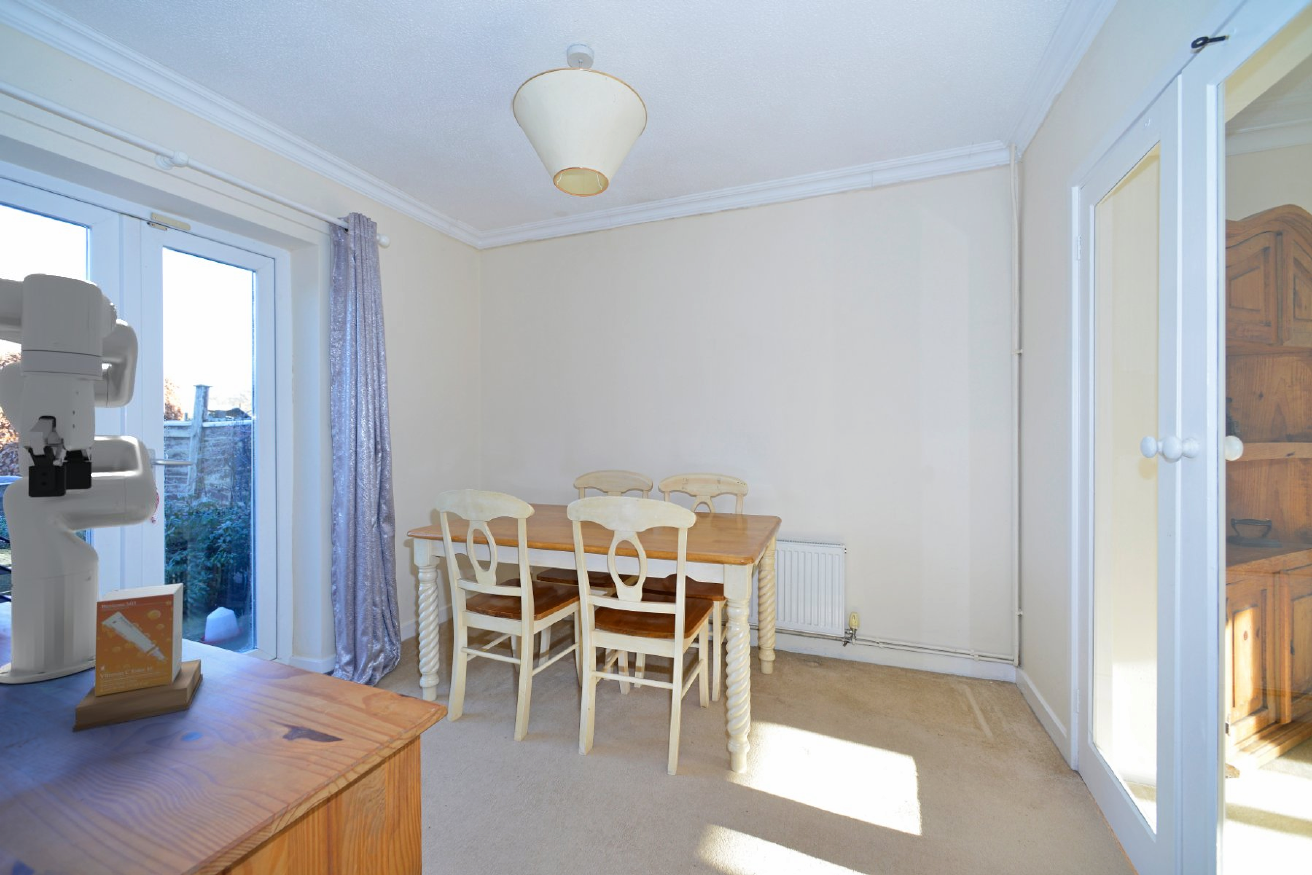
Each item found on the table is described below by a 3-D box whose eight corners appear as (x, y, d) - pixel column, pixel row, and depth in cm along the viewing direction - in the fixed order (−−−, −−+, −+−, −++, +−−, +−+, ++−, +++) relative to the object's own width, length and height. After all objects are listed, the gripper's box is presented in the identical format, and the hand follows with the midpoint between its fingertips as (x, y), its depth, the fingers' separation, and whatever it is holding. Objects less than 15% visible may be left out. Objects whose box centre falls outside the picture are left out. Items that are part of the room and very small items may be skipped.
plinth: (102, 694, 79) (102, 674, 79) (202, 677, 85) (202, 658, 85) (72, 732, 69) (72, 708, 69) (188, 709, 76) (188, 687, 76)
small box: (93, 698, 72) (94, 601, 72) (109, 679, 78) (109, 589, 77) (173, 684, 77) (174, 592, 76) (183, 667, 82) (183, 581, 82)
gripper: (49, 371, 79) (48, 487, 79) (-11, 359, 65) (-11, 501, 65) (119, 375, 83) (118, 485, 83) (78, 364, 69) (77, 498, 69)
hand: (62, 492), depth 74 cm, fingers open, 9 cm apart
